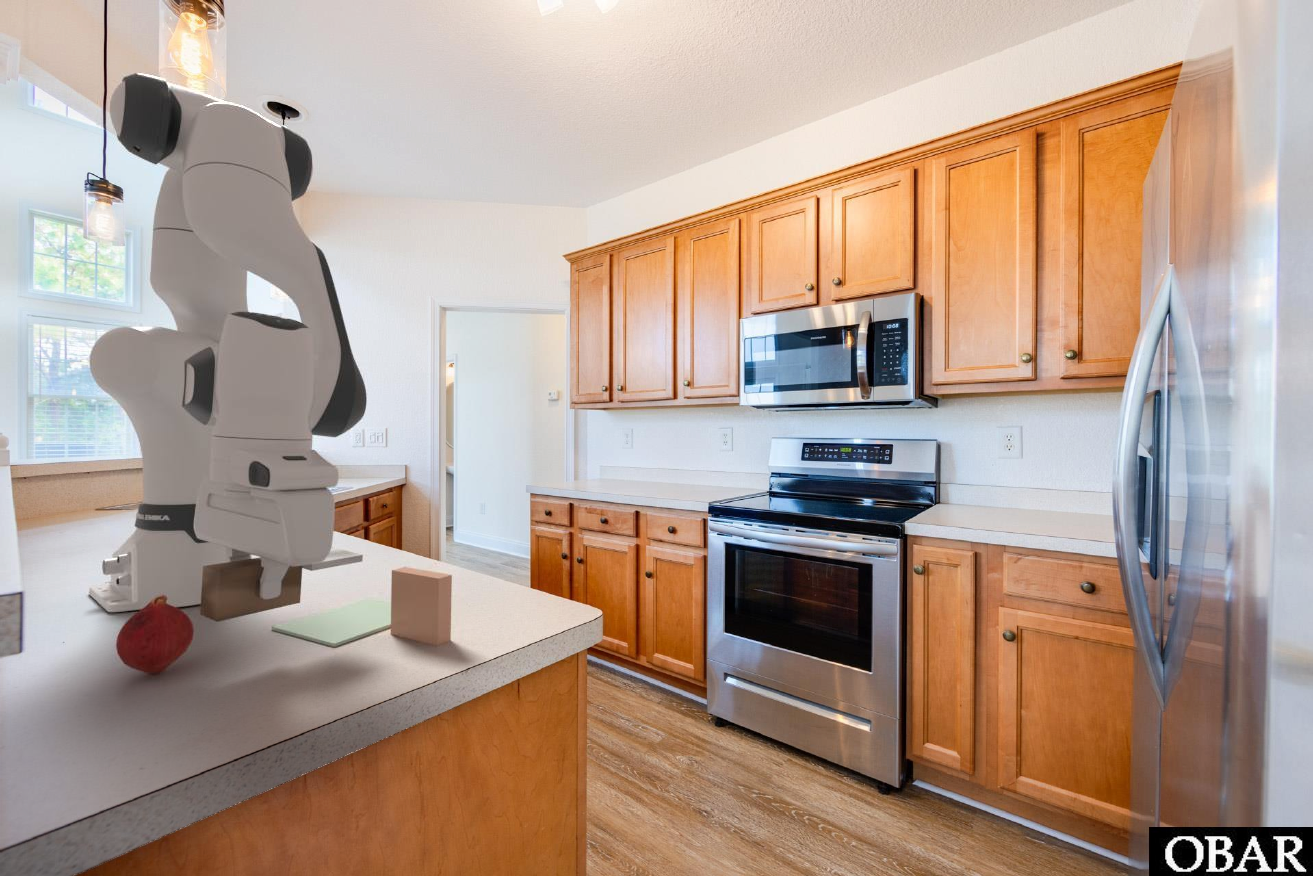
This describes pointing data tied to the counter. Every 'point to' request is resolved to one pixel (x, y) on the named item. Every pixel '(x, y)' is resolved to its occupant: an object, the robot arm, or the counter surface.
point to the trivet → (341, 623)
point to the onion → (154, 637)
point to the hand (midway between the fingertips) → (255, 592)
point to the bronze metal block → (234, 584)
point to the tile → (421, 605)
